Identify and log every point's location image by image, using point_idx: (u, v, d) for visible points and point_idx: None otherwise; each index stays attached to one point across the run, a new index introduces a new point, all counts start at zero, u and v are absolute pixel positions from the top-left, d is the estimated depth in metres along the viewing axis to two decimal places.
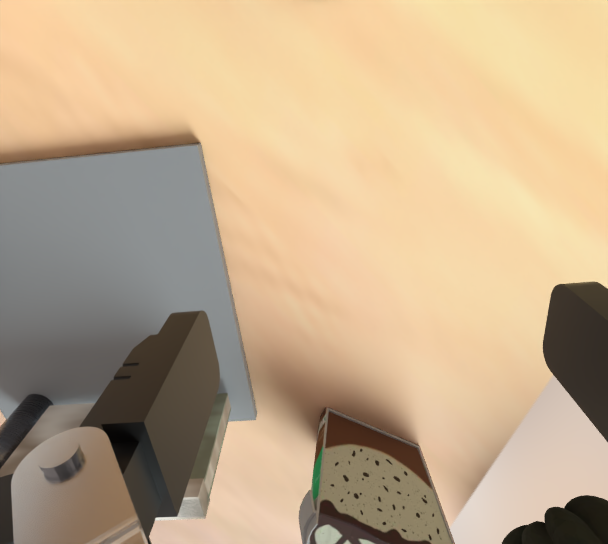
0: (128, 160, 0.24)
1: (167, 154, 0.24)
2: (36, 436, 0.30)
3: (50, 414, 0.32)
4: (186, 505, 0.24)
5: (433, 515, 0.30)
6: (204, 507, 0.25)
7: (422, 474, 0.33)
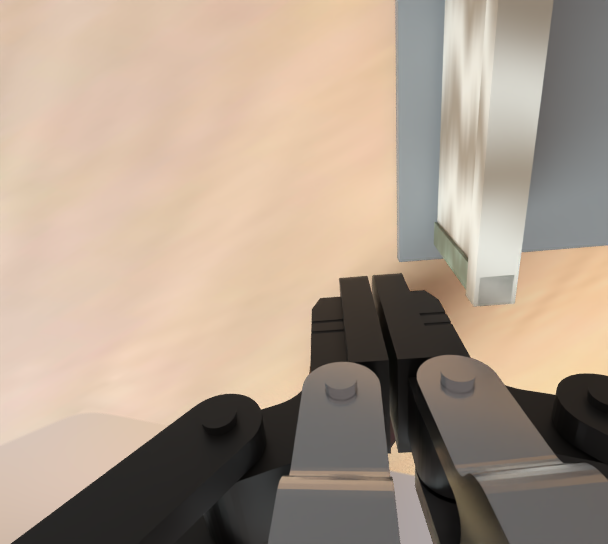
0: None
1: None
2: None
3: None
4: (501, 288, 0.20)
5: None
6: (485, 303, 0.21)
7: None
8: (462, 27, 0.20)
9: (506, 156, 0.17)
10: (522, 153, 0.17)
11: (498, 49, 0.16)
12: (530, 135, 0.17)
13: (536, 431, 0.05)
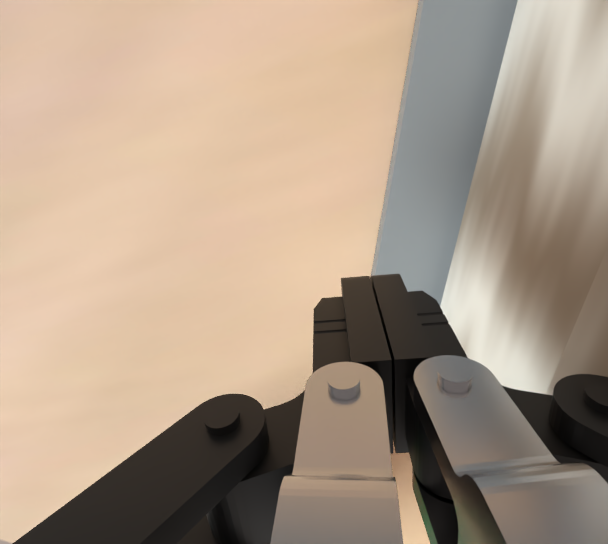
0: None
1: None
2: None
3: None
4: None
5: None
6: None
7: None
8: None
9: None
10: None
11: None
12: None
13: (532, 432, 0.05)
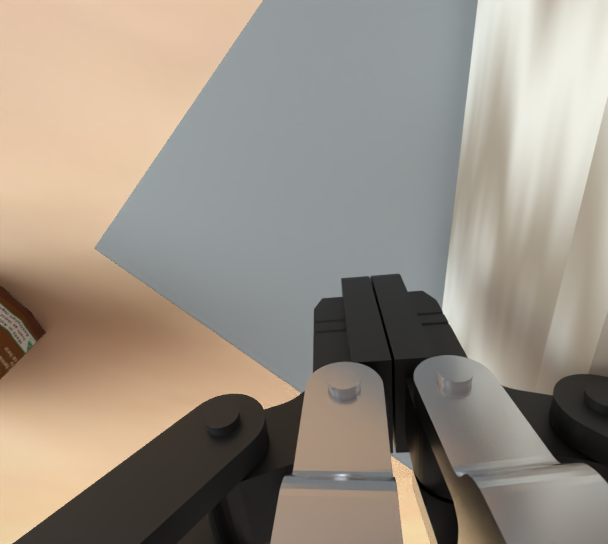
0: None
1: None
2: None
3: None
4: None
5: None
6: None
7: None
8: None
9: None
10: None
11: None
12: None
13: (533, 431, 0.05)
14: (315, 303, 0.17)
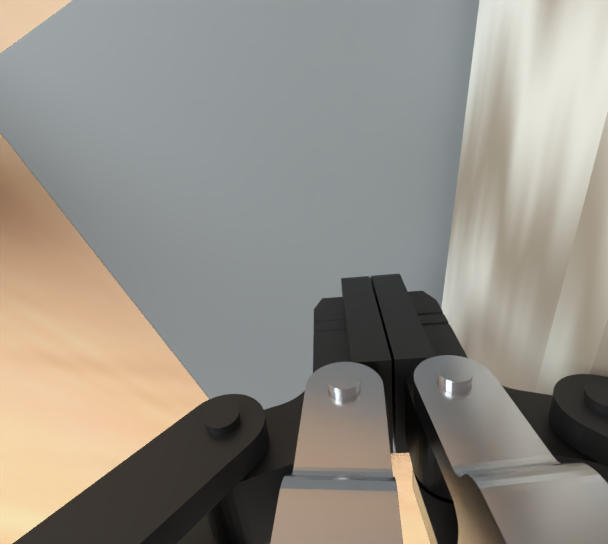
0: None
1: None
2: None
3: None
4: None
5: None
6: None
7: None
8: None
9: None
10: None
11: None
12: None
13: (533, 432, 0.05)
14: (194, 235, 0.16)
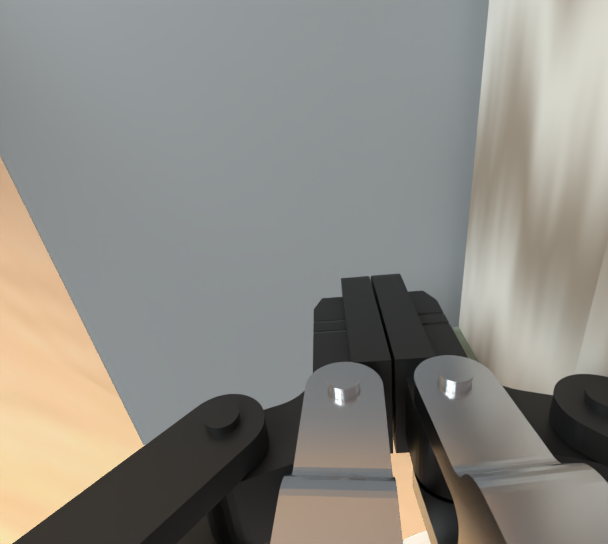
0: None
1: None
2: None
3: None
4: None
5: None
6: None
7: None
8: None
9: None
10: None
11: None
12: None
13: (533, 432, 0.05)
14: (107, 141, 0.14)
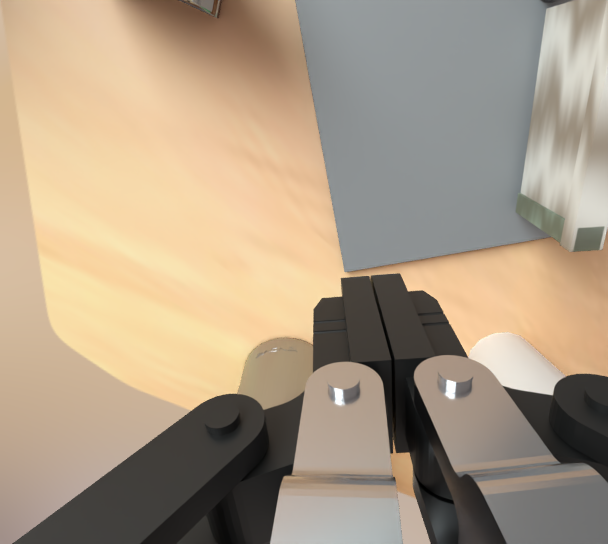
0: (390, 259, 0.37)
1: (364, 265, 0.38)
2: None
3: None
4: (593, 237, 0.26)
5: None
6: (578, 249, 0.27)
7: None
8: (567, 33, 0.26)
9: None
10: None
11: None
12: None
13: (533, 431, 0.05)
14: (366, 103, 0.32)
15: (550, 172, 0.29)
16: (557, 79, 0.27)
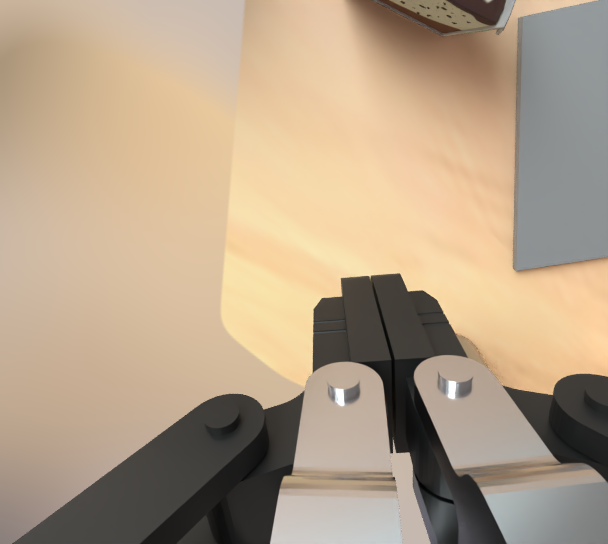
0: (561, 259, 0.40)
1: (536, 264, 0.40)
2: None
3: None
4: None
5: None
6: None
7: None
8: None
9: None
10: None
11: None
12: None
13: (533, 432, 0.05)
14: (568, 116, 0.35)
15: None
16: None
